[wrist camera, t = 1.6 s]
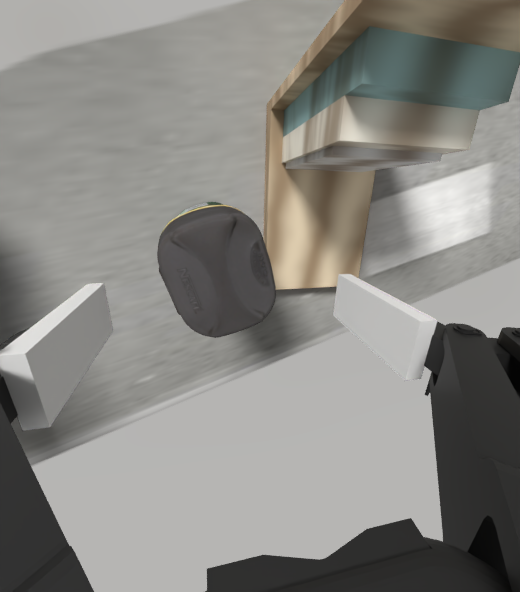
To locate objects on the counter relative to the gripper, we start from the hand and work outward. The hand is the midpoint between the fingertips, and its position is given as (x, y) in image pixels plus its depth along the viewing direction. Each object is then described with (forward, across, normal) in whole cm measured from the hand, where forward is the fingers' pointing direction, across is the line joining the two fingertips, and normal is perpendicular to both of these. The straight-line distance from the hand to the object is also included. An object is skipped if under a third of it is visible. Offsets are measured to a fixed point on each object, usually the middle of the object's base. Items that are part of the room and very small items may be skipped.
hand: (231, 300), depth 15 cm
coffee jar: (+22, 0, 0) cm, 22 cm away
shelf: (+21, +14, +5) cm, 26 cm away
